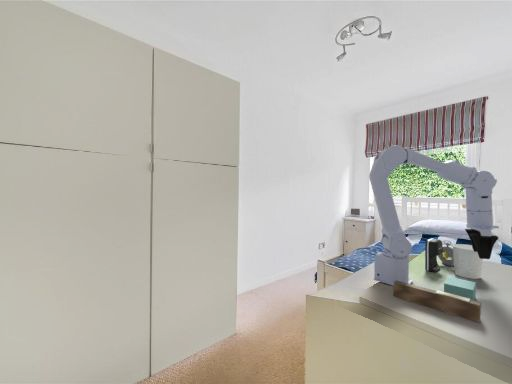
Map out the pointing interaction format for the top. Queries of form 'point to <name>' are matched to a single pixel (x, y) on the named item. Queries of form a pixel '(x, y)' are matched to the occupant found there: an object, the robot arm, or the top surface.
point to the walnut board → (439, 300)
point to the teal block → (460, 288)
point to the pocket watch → (447, 255)
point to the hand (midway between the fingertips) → (481, 255)
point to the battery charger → (432, 254)
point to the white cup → (466, 261)
